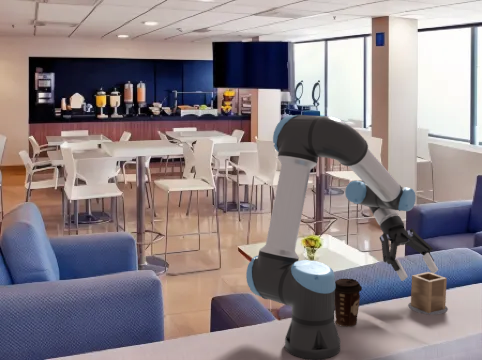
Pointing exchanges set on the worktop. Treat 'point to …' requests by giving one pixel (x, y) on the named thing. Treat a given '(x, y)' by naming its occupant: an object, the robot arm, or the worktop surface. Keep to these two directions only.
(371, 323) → the worktop surface
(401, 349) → the worktop surface
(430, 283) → the sleeve
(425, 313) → the post stand
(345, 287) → the coffee cup
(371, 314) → the worktop surface
